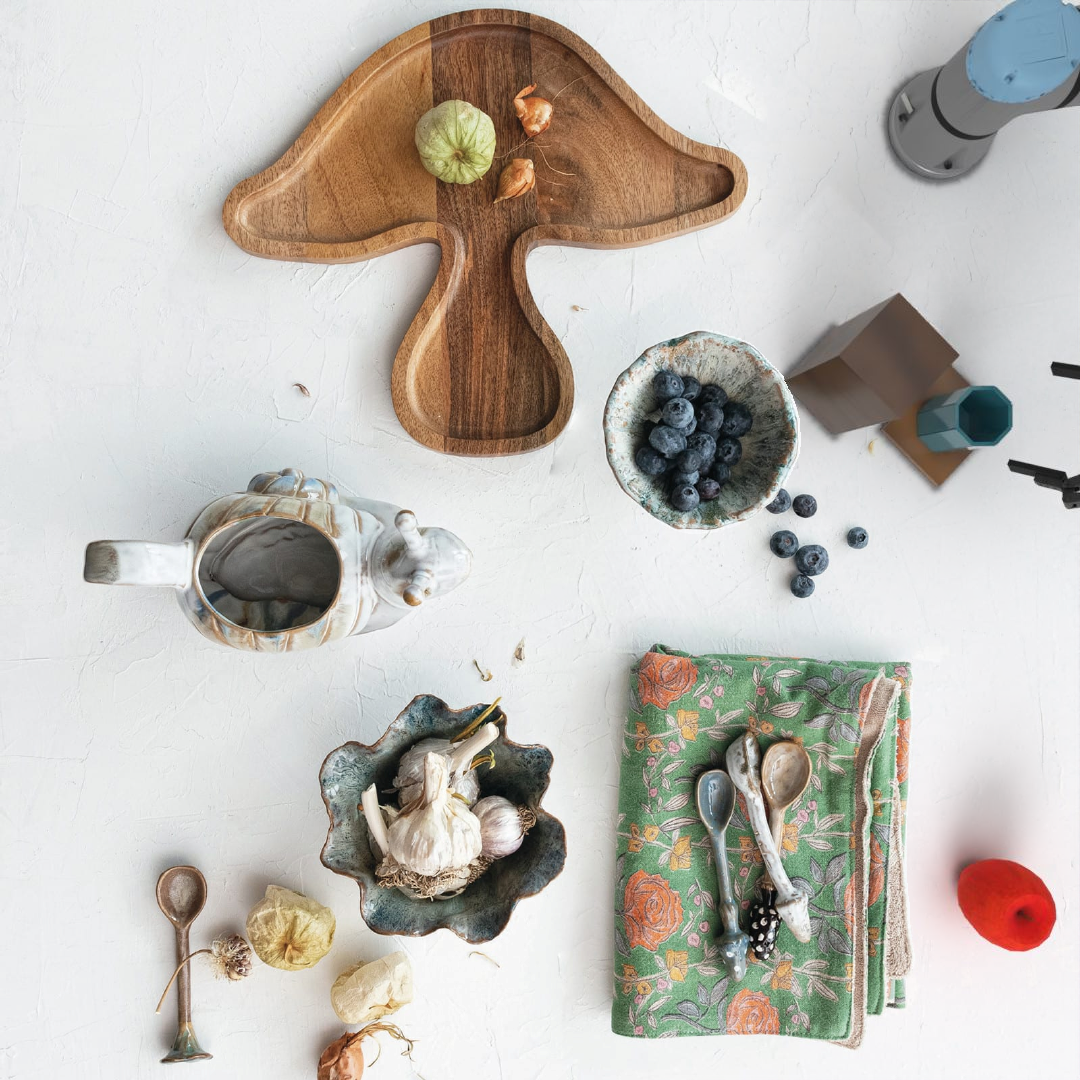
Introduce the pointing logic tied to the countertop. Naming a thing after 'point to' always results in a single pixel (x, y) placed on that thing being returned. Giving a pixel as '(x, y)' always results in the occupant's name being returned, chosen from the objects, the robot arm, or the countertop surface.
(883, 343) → the block
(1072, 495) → the robot arm
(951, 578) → the countertop surface
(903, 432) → the mat
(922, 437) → the cup
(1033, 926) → the apple
